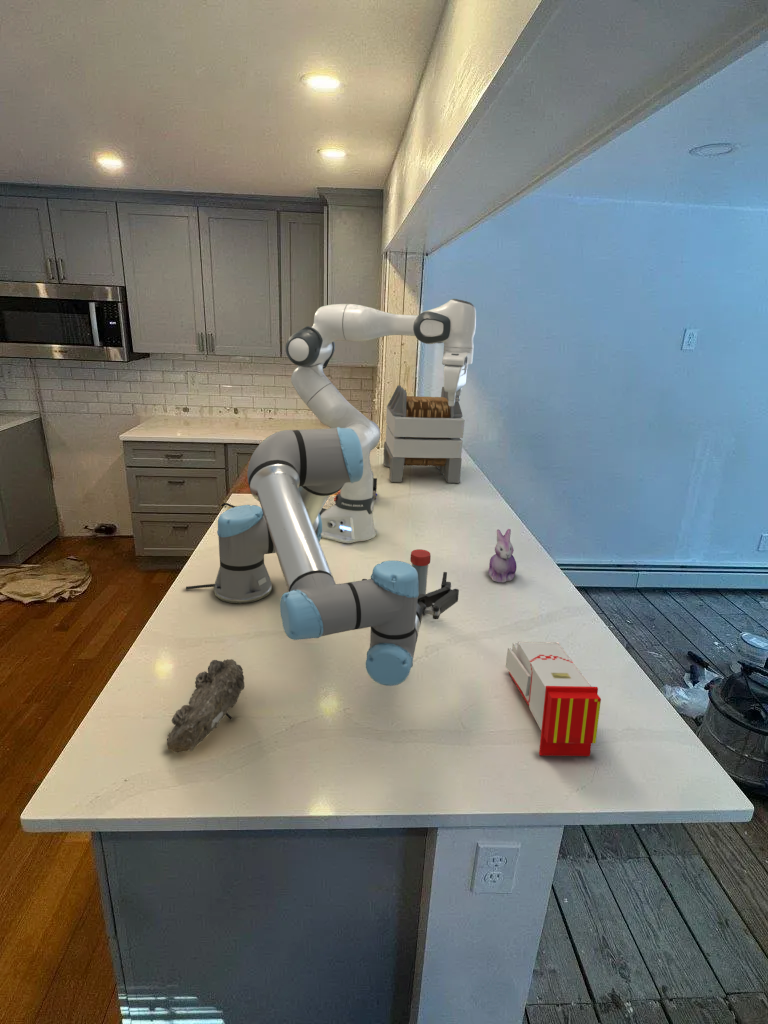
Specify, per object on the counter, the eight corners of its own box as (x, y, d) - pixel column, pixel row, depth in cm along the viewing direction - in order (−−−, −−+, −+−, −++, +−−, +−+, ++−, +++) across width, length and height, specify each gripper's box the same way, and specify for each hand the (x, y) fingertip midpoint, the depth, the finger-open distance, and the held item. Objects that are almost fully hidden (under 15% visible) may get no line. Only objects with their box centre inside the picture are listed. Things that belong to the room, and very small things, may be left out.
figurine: (500, 586, 164) (506, 538, 159) (479, 572, 173) (484, 526, 168) (525, 580, 169) (532, 534, 164) (503, 567, 177) (509, 522, 172)
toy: (554, 624, 127) (610, 694, 97) (548, 679, 130) (602, 763, 100) (500, 623, 126) (541, 693, 97) (496, 678, 129) (534, 763, 100)
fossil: (192, 660, 117) (244, 628, 112) (224, 691, 120) (276, 661, 115) (142, 746, 98) (202, 712, 93) (182, 779, 101) (242, 748, 96)
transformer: (382, 463, 289) (386, 382, 275) (445, 464, 293) (451, 384, 279) (390, 482, 257) (394, 392, 243) (460, 483, 261) (468, 394, 247)
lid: (417, 556, 148) (418, 547, 147) (433, 561, 145) (434, 553, 144) (406, 562, 144) (406, 553, 143) (422, 567, 141) (423, 559, 140)
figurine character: (377, 508, 228) (376, 492, 242) (377, 490, 225) (377, 476, 238) (360, 507, 228) (361, 492, 242) (360, 490, 225) (361, 475, 238)
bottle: (414, 606, 152) (418, 550, 146) (427, 611, 150) (432, 554, 144) (405, 611, 149) (409, 554, 143) (418, 617, 146) (422, 559, 141)
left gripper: (334, 631, 108) (358, 583, 128) (466, 648, 105) (469, 595, 124) (335, 596, 106) (359, 552, 126) (469, 612, 102) (472, 564, 122)
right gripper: (453, 354, 180) (449, 398, 185) (441, 358, 161) (437, 407, 166) (473, 355, 178) (468, 399, 183) (463, 360, 160) (459, 409, 164)
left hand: (414, 574), depth 125 cm, fingers open, 13 cm apart
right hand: (454, 403), depth 174 cm, fingers open, 8 cm apart
